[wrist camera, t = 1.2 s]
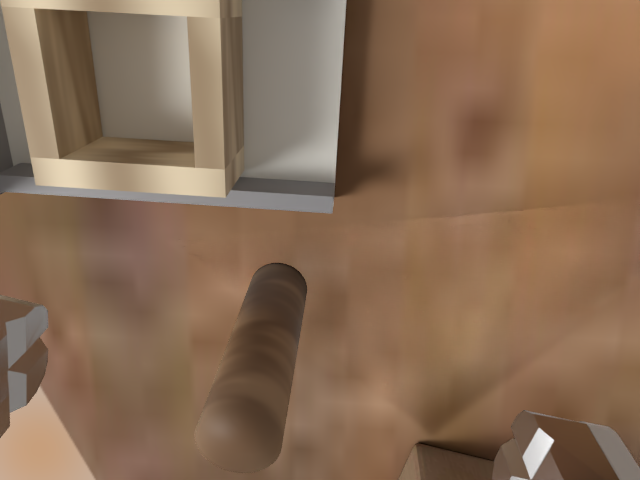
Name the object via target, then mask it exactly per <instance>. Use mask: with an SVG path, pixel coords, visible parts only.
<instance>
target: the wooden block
mask: <svg viewBox="0 0 640 480" xmlns="http://www.w3.org/2000/svg"><path fill="white" fill-rule="evenodd" d="M493 466H494V461H490V460H486V459H482V458H477V457H473V456H469V455H465V454H461V453H457V452H453V451H449V450H445V449H440V448H436V447H432V446H428V445H424V444H415V445H414V447H413V449H412V451H411V453H410V456H409V458H408V460H407V462H406V464H405V466H404V468H403V471H402V473H401V475H400V477H399V479H398V480H493V479H492V473H493Z"/></svg>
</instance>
